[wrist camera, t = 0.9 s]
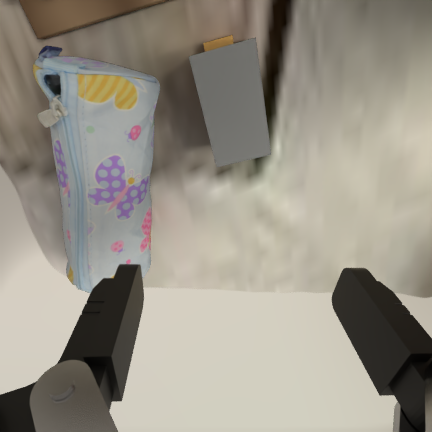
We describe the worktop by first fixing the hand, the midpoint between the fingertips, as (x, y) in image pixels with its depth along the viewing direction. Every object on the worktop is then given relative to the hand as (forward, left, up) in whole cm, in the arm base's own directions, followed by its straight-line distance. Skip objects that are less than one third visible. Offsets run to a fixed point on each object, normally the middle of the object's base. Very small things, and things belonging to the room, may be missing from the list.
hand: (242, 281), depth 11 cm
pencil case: (+11, 0, -20) cm, 23 cm away
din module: (-1, -4, -19) cm, 20 cm away
